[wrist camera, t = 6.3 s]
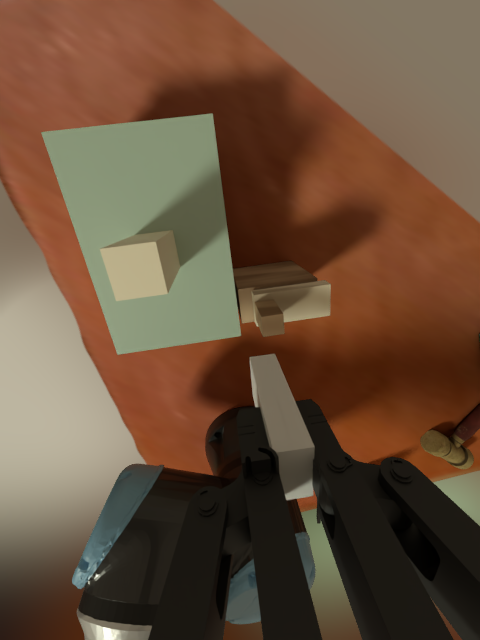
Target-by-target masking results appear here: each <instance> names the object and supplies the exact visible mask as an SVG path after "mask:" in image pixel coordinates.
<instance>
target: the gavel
mask: <svg viewBox="0 0 480 640" xmlns="http://www.w3.org/2000/svg"><path fill="white" fill-rule="evenodd" d="M479 428H480V404H479V405H478V406H477V407H476V408H475V409H474V410H473V411H472V412H471V413H470V414H469V415H468V417H467V418H466V419H465V420H464V421H463V422H462V423H461V424H460V425H459V426H458V427H457V428H456V430H455V431H454V433H453V434H452V435H451V437H449V438H447V437H446V436H445V435H443V434H441V433H440V432H438V431H436V430H429V431H427V432H426V433H425V434H424V435H423V436H422V437H421V439H420V442H421V446H422V447H423V449H424V450H425V451H427V452H428V453H430V454H432V455H434V456H438V457H441V458H443V459H445V460H446V461H447V462H448V463H450V464H451V465H453V466H455V467H457V468H459V469H467V468H469V467H471V465H472V464H473V461H474V458H473V455H472V453H471V451H470V450H469V449H467V448H466V447H464V446H462V445H461V444H463V443H464V442H465V441H466V440H467V439H469V438H470V437H471V436H472V435H473V434H474V433H475V432H476V431H477V430H478V429H479Z"/></svg>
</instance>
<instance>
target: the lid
mask: <svg viewBox="0 0 480 640" xmlns="http://www.w3.org/2000/svg"><path fill="white" fill-rule="evenodd" d="M41 133H42V136H43V139H44V142H45V145H46V147H47V150H48V153H49V156H50V159H51V162H52V165H53V168H54V171H55V174H56V177H57V180H58V182H59V185H60V188H61V191H62V194H63V197H64V200H65V203H66V206H67V209H68V212H69V214H70V217H71V220H72V223H73V226H74V229H75V232H76V235H77V238H78V241H79V244H80V247H81V249H82V252H83V255H84V258H85V261H86V264H87V267H88V270H89V273H90V276H91V279H92V281H93V284H94V287H95V290H96V293H97V296H98V299H99V302H100V305H101V308H102V311H103V313H104V316H105V319H106V322H107V325H108V328H109V331H110V334H111V337H112V340H113V343H114V346H115V348H116V351H117V354H118V355H119V354H125V353H132V352H138V351H145V350H152V349H158V348H165V347H171V346H178V345H185V344H191V343H198V342H204V341H211V340H218V339H224V338H231V337H237V336H241V331H240V323H239V315H238V308H237V300H236V292H235V284H234V276H233V269H232V261H231V253H230V245H229V237H228V229H227V222H226V214H225V206H224V198H223V190H222V183H221V175H220V167H219V159H218V151H217V143H216V136H215V128H214V120H213V113H212V114H203V115H194V116H185V117H176V118H167V119H157V120H148V121H139V122H130V123H121V124H112V125H103V126H94V127H84V128H75V129H66V130H57V131H48V132H41Z"/></svg>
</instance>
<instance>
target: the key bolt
mask: <svg viewBox="0 0 480 640" xmlns="http://www.w3.org/2000/svg"><path fill="white" fill-rule="evenodd" d="M330 291H331V284H330V283H328V282H327V281H325V280H322V281H315V282H308V283H301V284H295V285H288V286H281V287H274V288H267V289H260V290H253V291H252V301H253V310H254V320H255V323H256V326H259V328H260V331H261V333H262V335H263V337H266V336H273V335H279V334H285V333H284V322H290V321H296V320H303V319H310V318H316V317H323V316H330Z"/></svg>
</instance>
